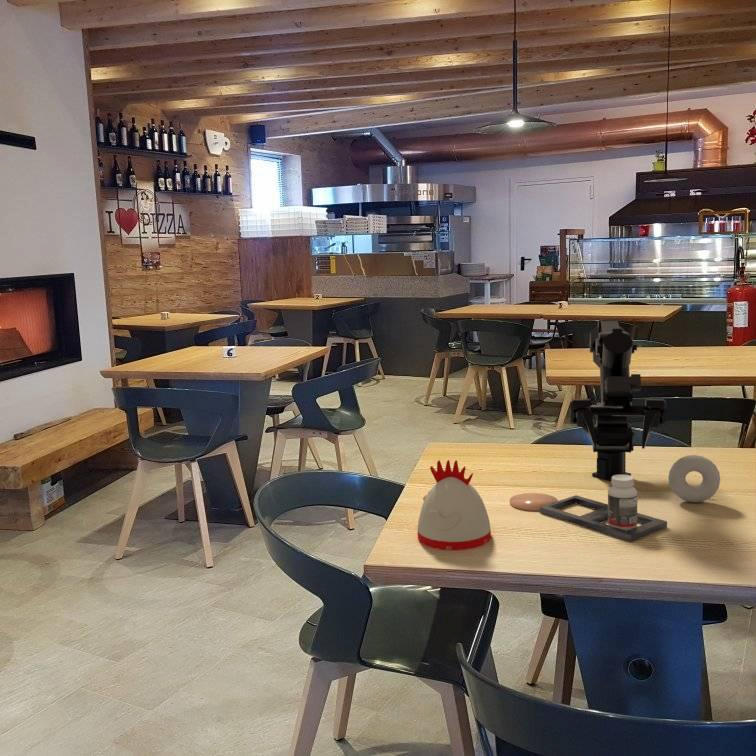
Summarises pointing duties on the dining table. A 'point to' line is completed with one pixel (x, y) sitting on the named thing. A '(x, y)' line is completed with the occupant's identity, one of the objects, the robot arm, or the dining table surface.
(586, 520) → the dark grey flat frame
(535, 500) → the coaster
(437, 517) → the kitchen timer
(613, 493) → the pill bottle
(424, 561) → the dining table surface
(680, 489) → the donut
